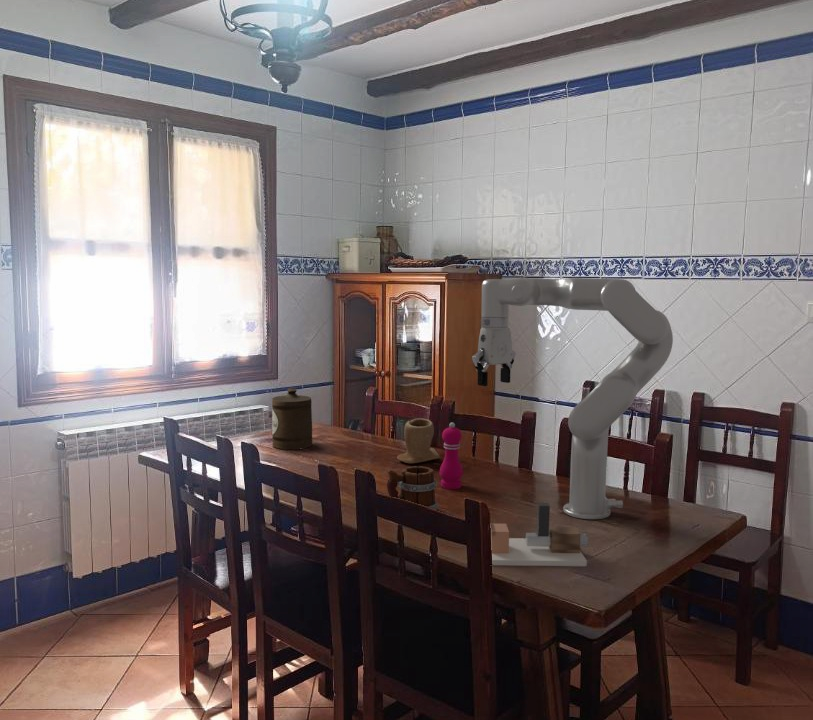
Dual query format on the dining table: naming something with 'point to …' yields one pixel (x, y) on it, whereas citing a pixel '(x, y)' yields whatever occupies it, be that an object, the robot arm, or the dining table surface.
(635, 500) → the dining table surface
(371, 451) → the dining table surface
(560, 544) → the walnut sleeve
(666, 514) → the dining table surface
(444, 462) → the pepper mill
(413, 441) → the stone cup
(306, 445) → the wooden container
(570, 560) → the cream board
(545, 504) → the grey piece
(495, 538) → the terracotta socket
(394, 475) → the mug
